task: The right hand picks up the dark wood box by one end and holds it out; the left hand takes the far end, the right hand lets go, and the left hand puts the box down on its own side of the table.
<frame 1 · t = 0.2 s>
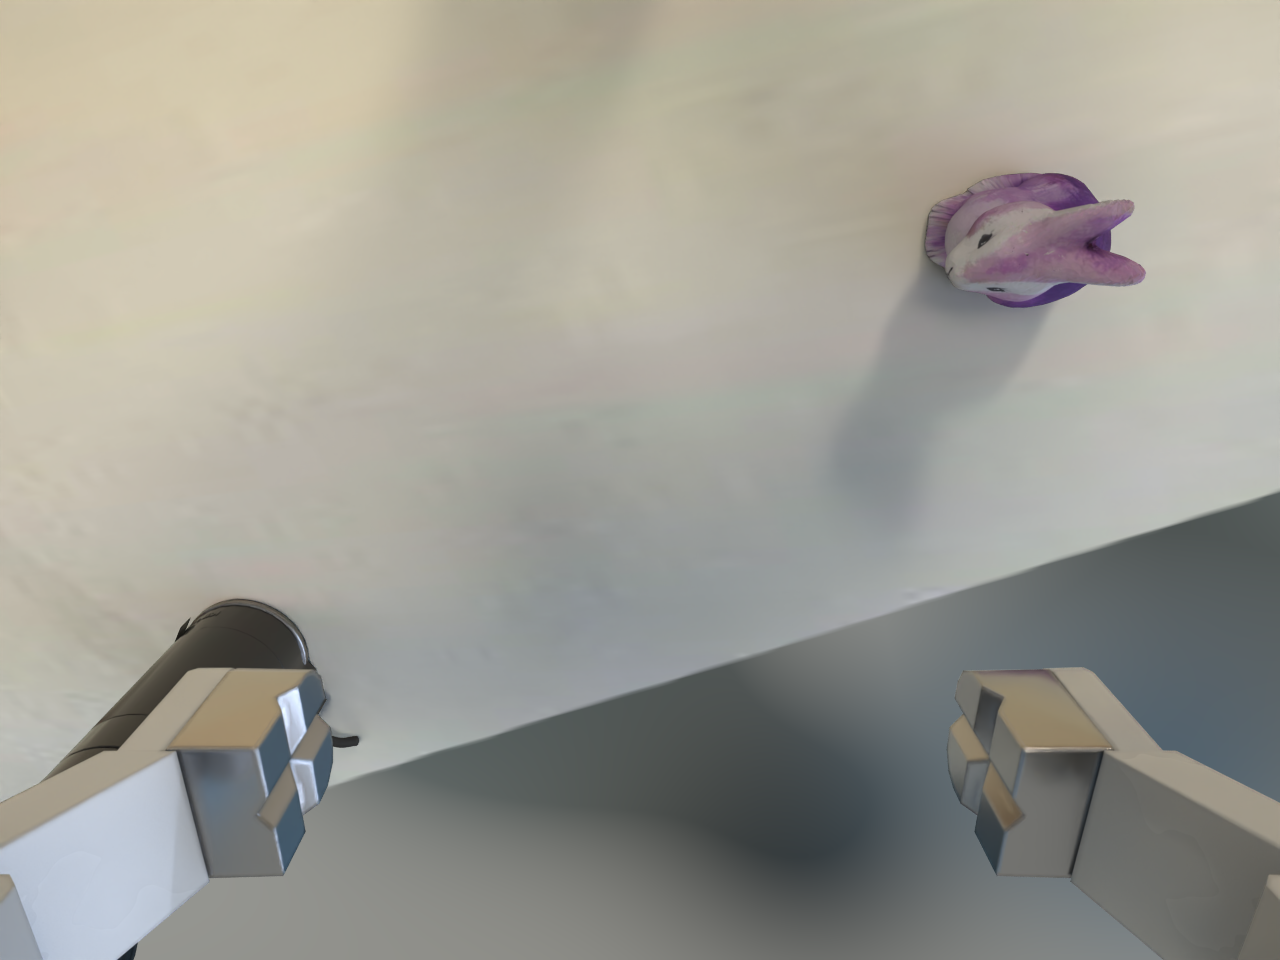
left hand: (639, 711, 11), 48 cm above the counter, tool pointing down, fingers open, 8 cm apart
figurine: (989, 240, 54), on the counter
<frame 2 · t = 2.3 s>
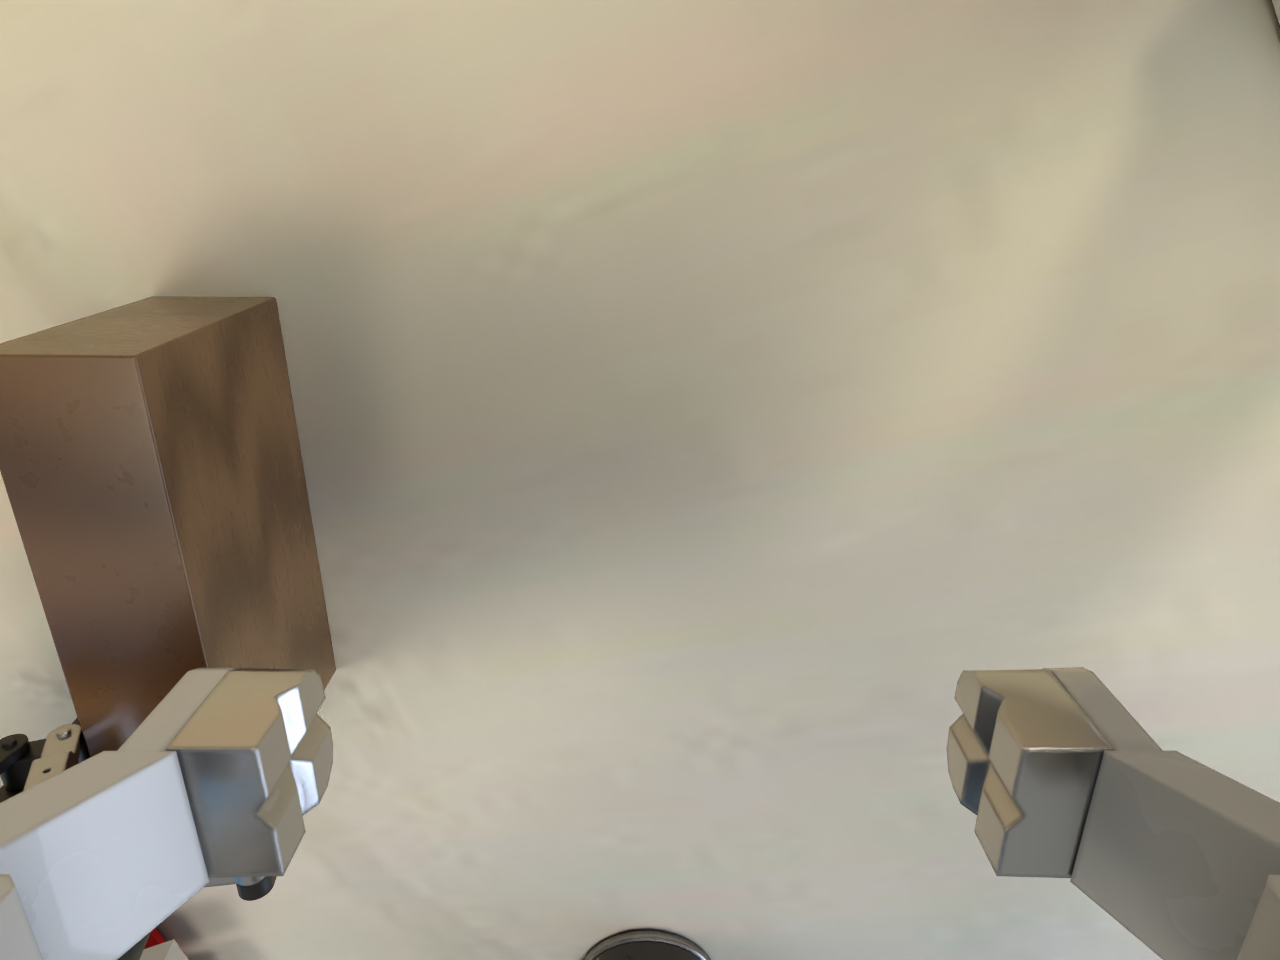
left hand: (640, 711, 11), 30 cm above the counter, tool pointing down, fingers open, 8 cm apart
box: (252, 500, 42), on the counter, touching right hand
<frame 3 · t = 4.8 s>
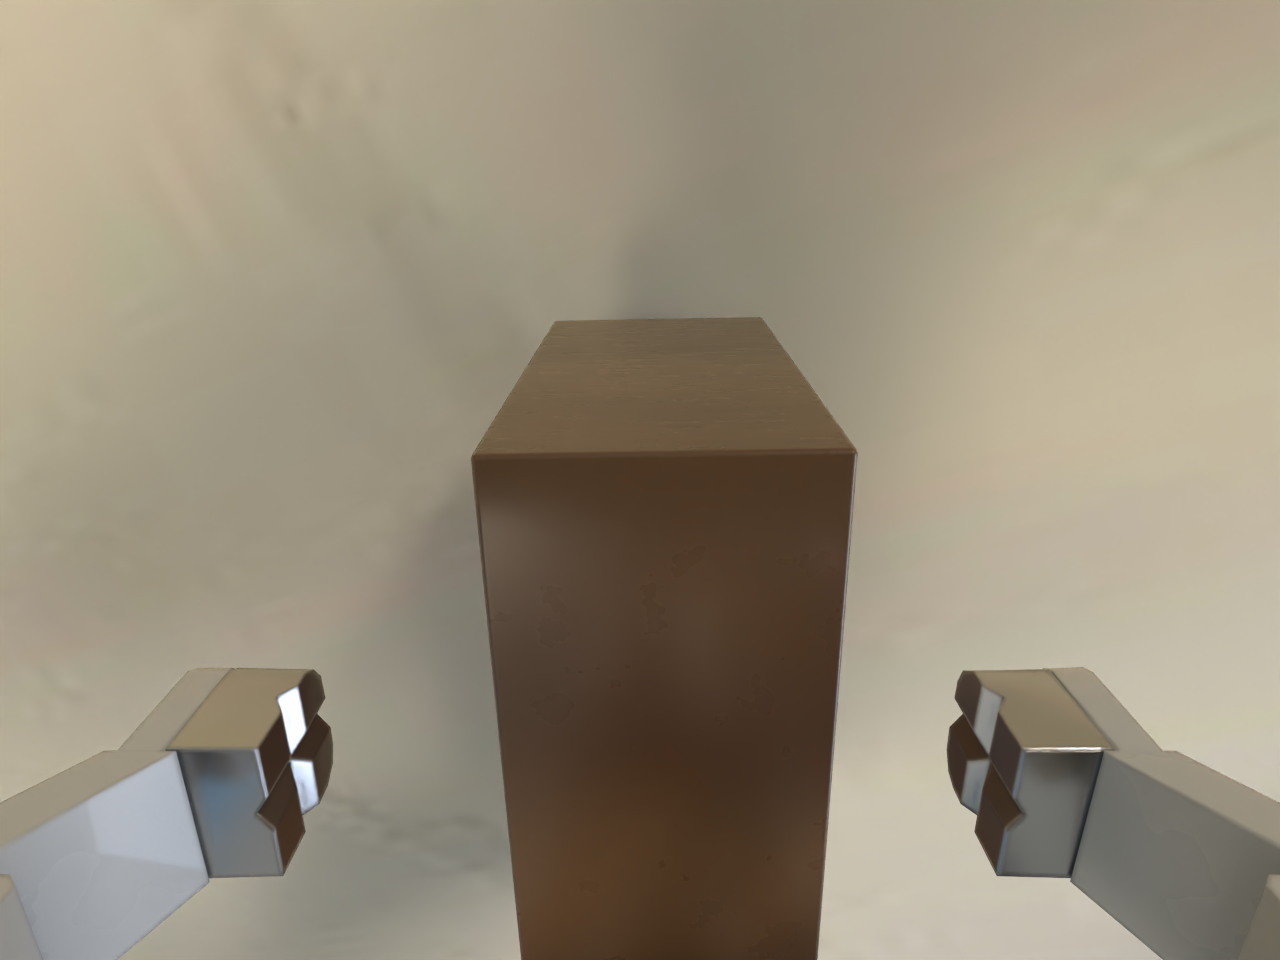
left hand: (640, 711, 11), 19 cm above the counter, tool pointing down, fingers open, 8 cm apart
box: (661, 639, 27), point 5 cm above the counter, touching right hand
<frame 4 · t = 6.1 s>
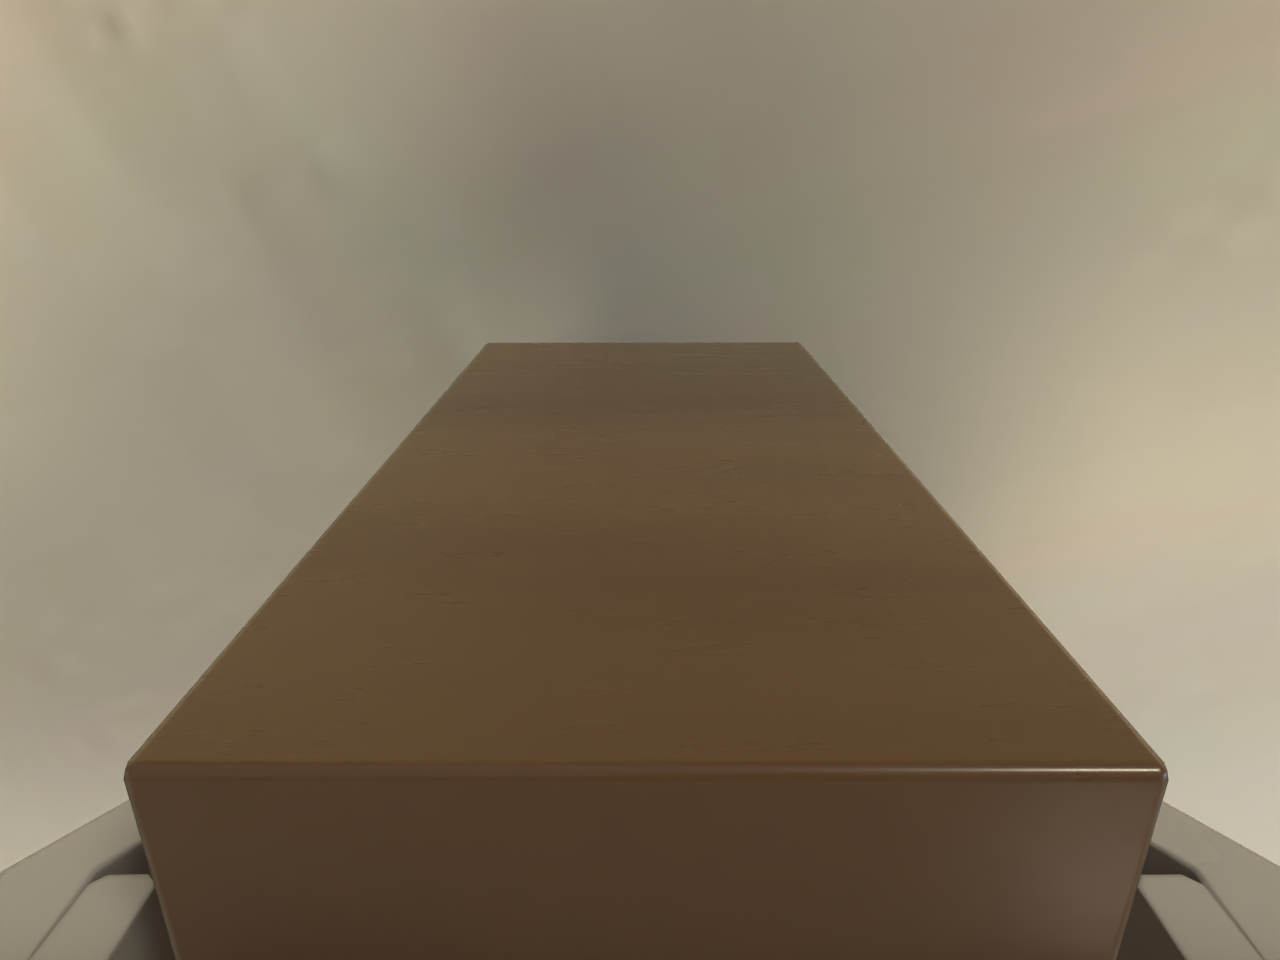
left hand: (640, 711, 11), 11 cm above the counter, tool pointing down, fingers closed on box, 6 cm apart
box: (643, 789, 19), point 5 cm above the counter, touching left hand, right hand
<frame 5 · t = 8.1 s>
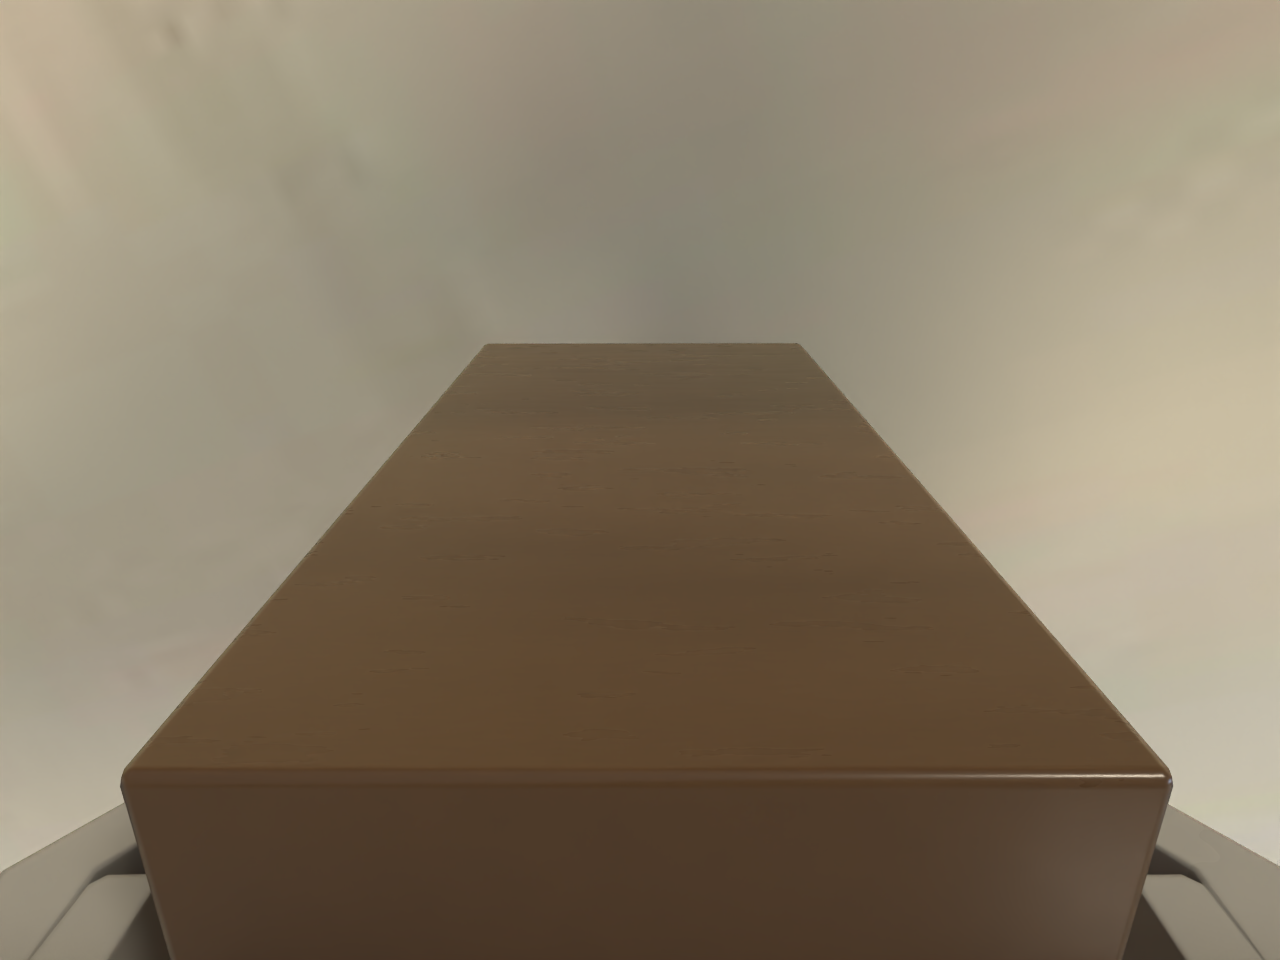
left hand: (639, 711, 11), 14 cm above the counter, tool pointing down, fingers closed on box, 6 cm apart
box: (642, 790, 19), point 8 cm above the counter, touching left hand
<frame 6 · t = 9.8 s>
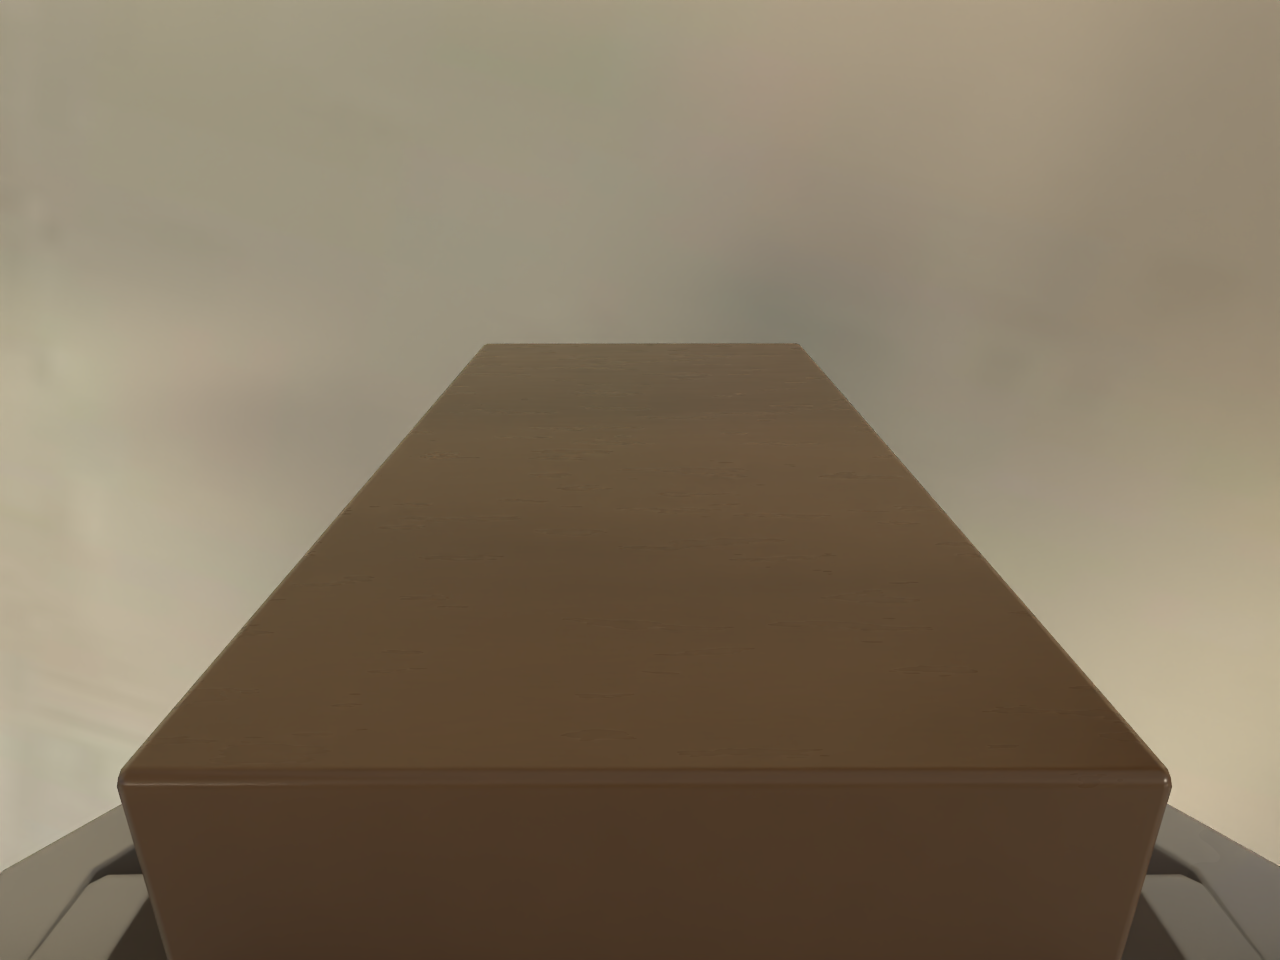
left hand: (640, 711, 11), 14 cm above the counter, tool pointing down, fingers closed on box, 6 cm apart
box: (642, 791, 19), point 8 cm above the counter, touching left hand
when the left hand's fingers open (8 cm above the counter, at t = 11.5 s): box drops 2 cm, on the counter.
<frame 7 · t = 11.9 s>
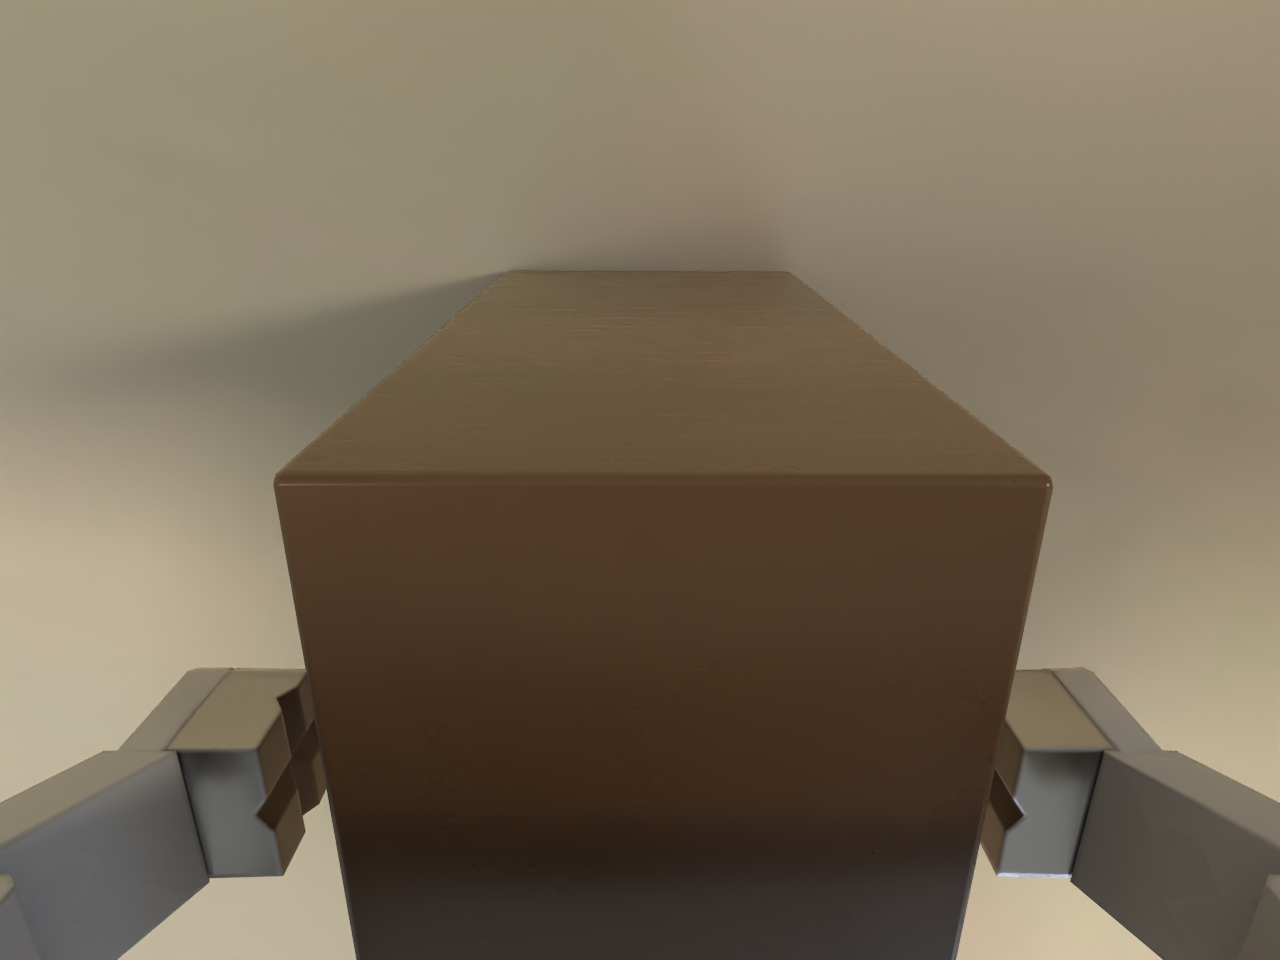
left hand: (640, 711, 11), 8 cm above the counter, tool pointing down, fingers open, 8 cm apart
box: (645, 696, 21), on the counter
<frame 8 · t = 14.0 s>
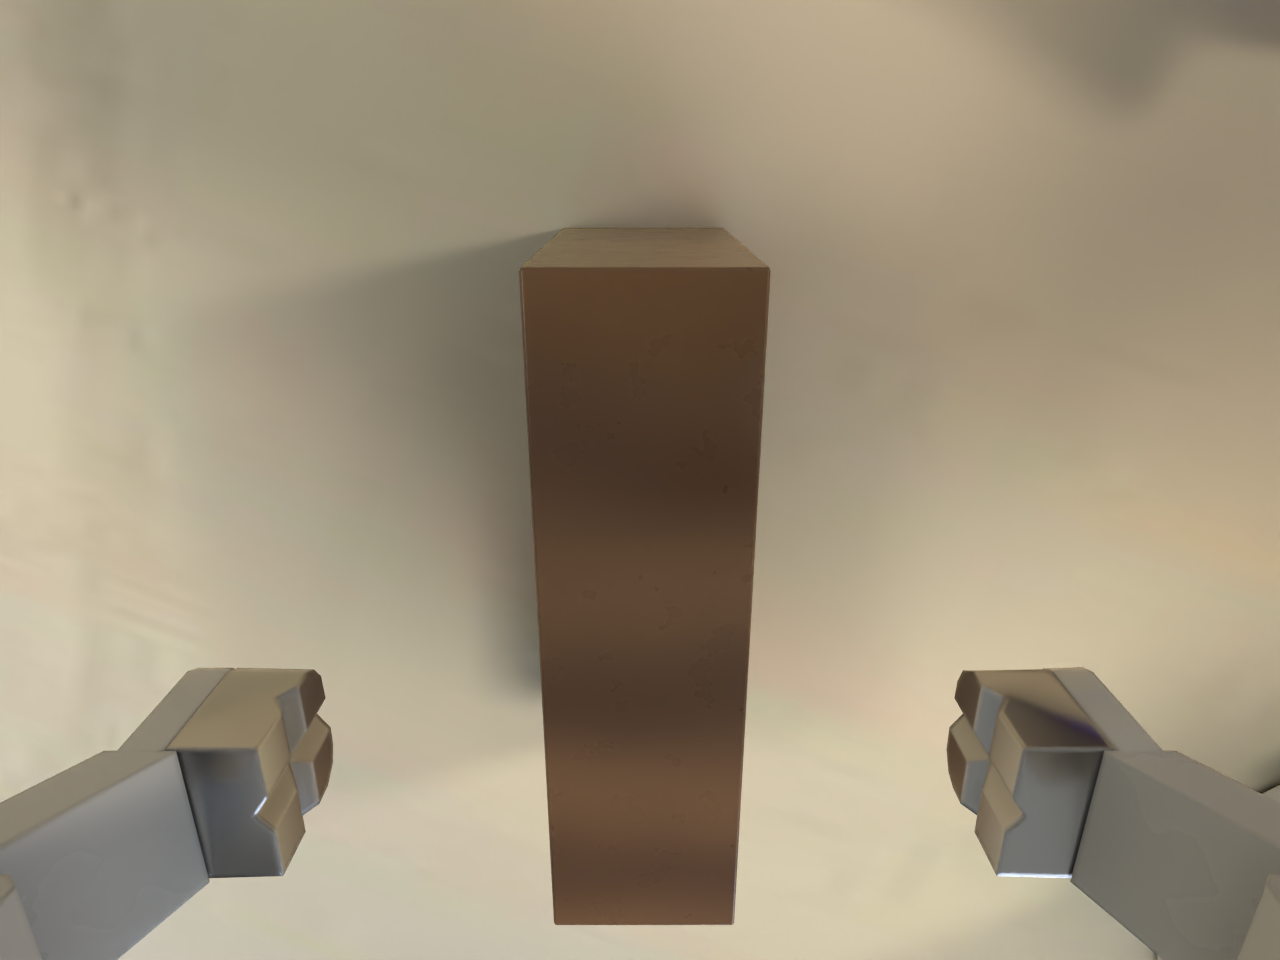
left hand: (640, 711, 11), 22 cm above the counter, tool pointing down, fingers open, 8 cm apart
box: (643, 494, 33), on the counter
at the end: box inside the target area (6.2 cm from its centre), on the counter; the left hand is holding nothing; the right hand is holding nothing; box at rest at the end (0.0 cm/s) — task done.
